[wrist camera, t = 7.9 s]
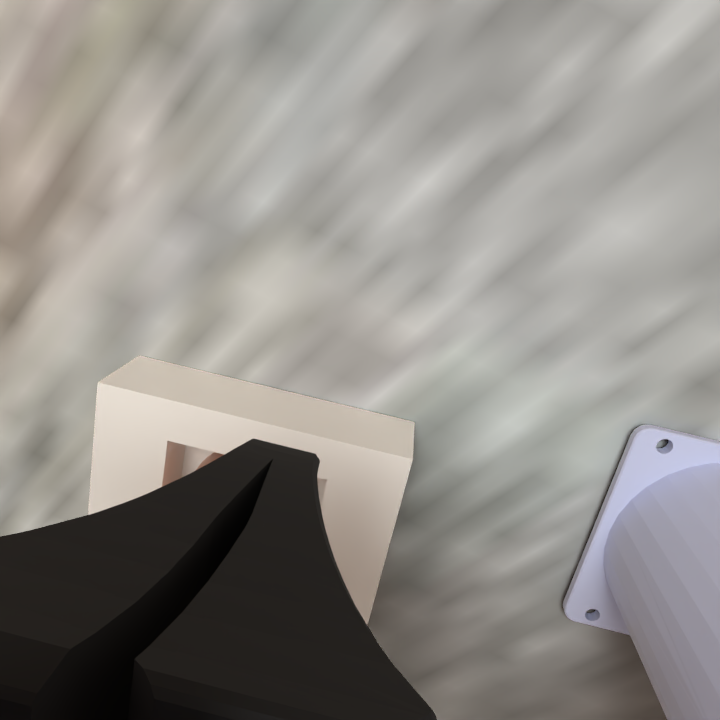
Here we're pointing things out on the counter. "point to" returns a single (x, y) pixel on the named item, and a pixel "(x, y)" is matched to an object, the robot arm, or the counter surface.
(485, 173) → the counter surface
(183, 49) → the counter surface
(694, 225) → the counter surface
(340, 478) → the button panel
